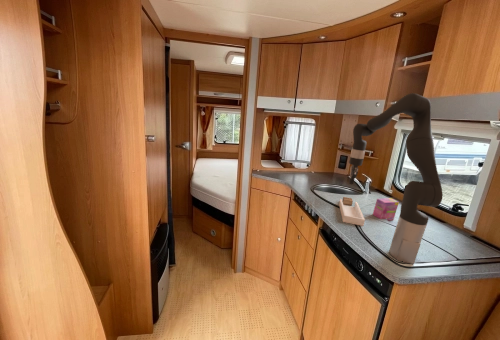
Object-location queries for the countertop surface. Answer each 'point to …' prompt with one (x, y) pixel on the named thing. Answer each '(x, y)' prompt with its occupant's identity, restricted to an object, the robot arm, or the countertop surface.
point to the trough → (351, 214)
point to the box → (385, 208)
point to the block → (347, 201)
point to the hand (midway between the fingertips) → (350, 183)
